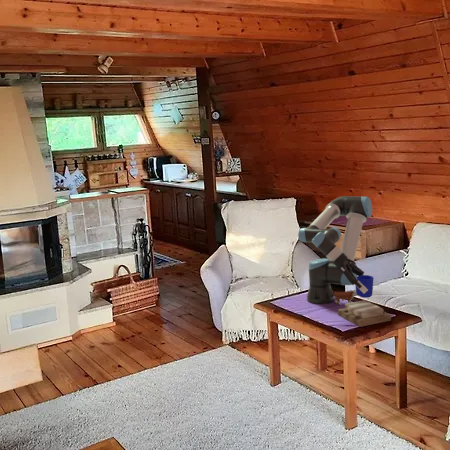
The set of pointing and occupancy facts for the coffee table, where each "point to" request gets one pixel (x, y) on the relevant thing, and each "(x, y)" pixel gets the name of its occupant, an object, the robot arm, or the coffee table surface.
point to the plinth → (363, 321)
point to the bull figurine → (344, 296)
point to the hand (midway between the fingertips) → (368, 288)
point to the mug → (368, 283)
